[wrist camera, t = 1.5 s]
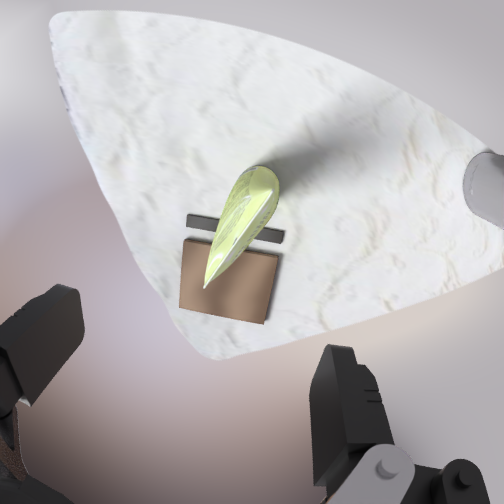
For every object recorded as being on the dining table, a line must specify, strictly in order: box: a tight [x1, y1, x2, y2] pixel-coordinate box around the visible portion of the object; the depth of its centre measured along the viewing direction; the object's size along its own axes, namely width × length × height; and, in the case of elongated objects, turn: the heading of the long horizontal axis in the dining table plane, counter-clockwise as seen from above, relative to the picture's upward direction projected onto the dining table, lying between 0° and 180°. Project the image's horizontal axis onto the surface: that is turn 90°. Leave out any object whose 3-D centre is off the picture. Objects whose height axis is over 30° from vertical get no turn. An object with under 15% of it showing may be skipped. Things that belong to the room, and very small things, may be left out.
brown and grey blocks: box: [179, 215, 283, 325], centre depth 40 cm, size 12×13×1 cm
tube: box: [203, 166, 279, 289], centre depth 27 cm, size 6×5×20 cm
